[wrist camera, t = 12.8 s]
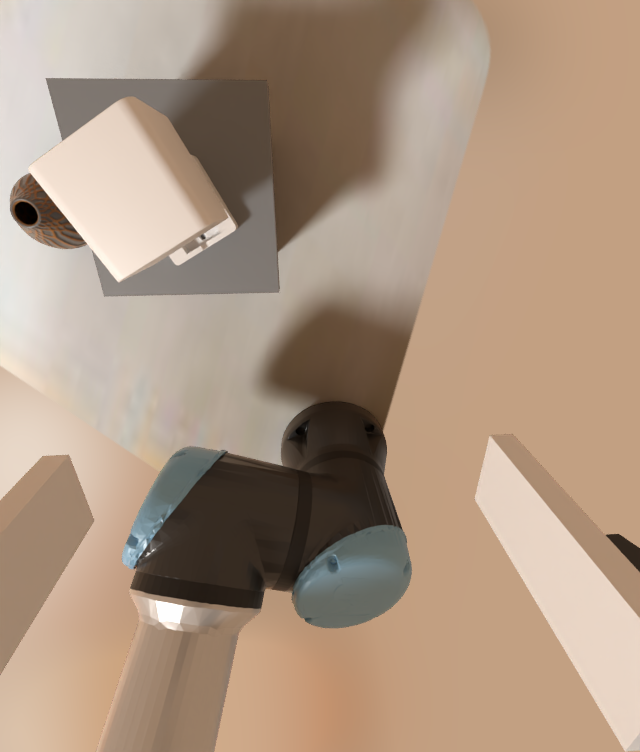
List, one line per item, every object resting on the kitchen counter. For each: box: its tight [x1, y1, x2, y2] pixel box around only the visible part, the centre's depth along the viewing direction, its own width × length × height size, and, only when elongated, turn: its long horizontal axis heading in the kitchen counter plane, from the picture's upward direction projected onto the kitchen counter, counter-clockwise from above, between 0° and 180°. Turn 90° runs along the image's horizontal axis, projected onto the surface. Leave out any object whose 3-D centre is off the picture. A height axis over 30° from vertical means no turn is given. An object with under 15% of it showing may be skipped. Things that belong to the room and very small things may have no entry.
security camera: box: [28, 96, 238, 282], centre depth 23 cm, size 6×7×10 cm
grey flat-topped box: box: [46, 78, 280, 296], centre depth 33 cm, size 14×14×14 cm
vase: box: [10, 173, 87, 249], centre depth 35 cm, size 7×7×9 cm
